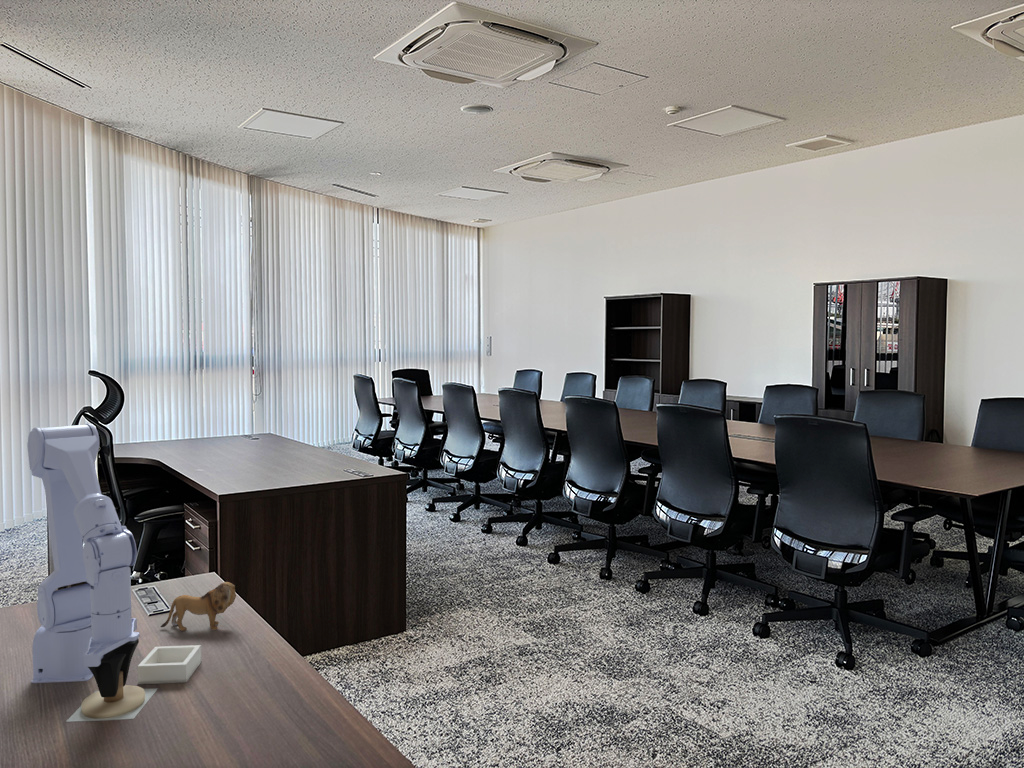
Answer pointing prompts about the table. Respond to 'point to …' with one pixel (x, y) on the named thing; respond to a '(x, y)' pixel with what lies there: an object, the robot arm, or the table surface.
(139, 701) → the lid
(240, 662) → the table surface
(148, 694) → the mat
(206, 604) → the lion figurine
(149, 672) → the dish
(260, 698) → the table surface
